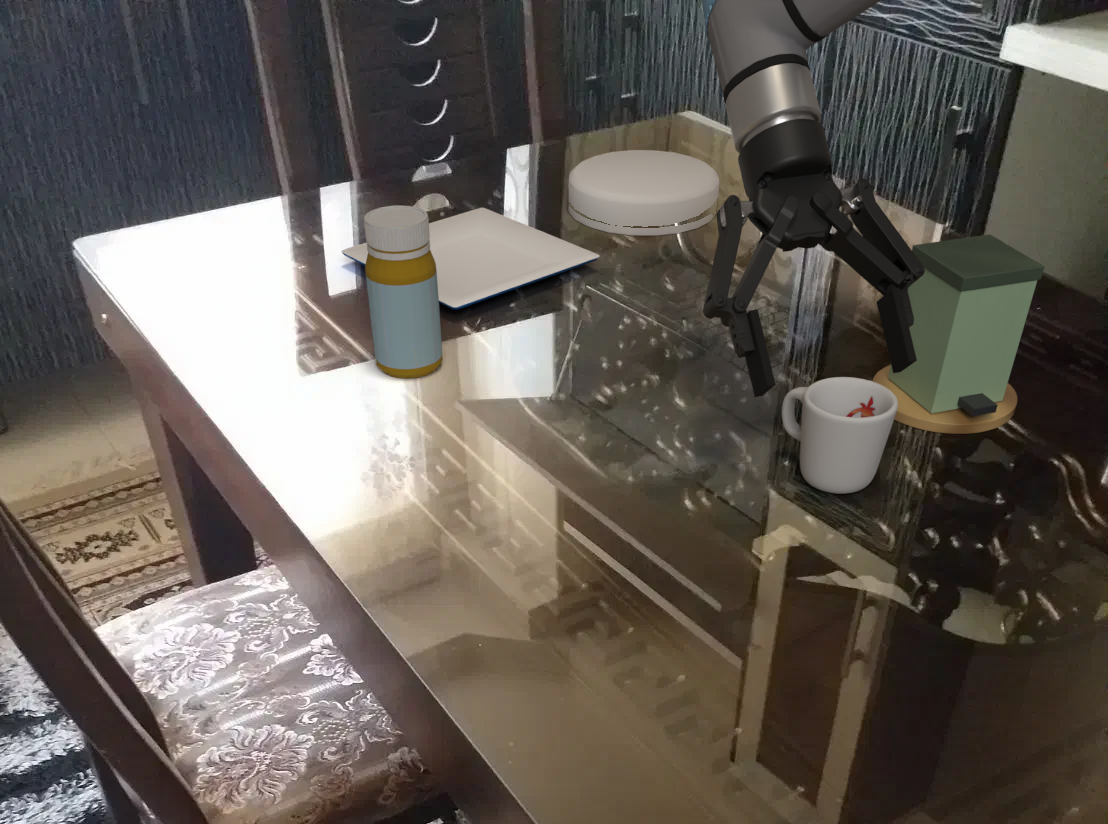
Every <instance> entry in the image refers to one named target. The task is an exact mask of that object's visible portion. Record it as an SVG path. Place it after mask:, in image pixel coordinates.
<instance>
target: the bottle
mask: <svg viewBox="0 0 1108 824" xmlns="http://www.w3.org/2000/svg"><path fill="white" fill-rule="evenodd" d="M363 223H364V224H363V225H364V234H365V241H366V243H367V251H368V255H367V260H366V264H365V265H364V269H365V273H364V274H365V281H366V290H367V291H366V292H367V300H368V307H369V316H370V327H371V334H372V343H373V351H374V358H375V365H376V366H377V368H378V369H380V370H381V371H382V372H383V373H384V374H385V375H387V376H389V377H393V378H396V379H409V380H410V379H417V378H422V377H426V376H429V375H431V374H433V373H434V372H435V371H436V370H437V369H438V368H439V366H440V365H441V364H442V362H443V340H442V327H441V313H440V303H439V298H438V283H437V270H436V263H435V260H434V258H433V255H432V253H431V251H430V240H429V238H430V233H429V223H430V220H429V216H428V213H427V211H426V210H424V209H422V208H420V207H417V206H412V205H387V206H383V207H382V206H381V207H377V208H374V209H372V210H370V211H368V212H367V213H366V214H365V215H364V218H363Z"/></svg>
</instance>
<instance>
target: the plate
mask: <svg viewBox="0 0 1108 824" xmlns="http://www.w3.org/2000/svg"><path fill="white" fill-rule="evenodd" d="M429 233H430V238H429V240H430V251H431V253H432V255H433V258H434V260H435V263H436V270H437V283H438V298H439V304H441V305H444V306H445V307H447V308H449V309H451V310H460V309H464V308H466V307H469V306H471V305H474V304H477V303H480V302H483V301H485V300H488V299H491V298H494V297H498V296H499V295H502V294H505V293H508V292H511V291H514V290H517V289H519V288H522V287H525V286H528V285H531V284H534V283H536V282H539V281H543V280H544V279H547V278H550V277H554V276H556V275H559V274H561V273H562V274H563V273H564V272H567V271H570V270H573V269H576V268H578V267H581V266H584V265H586V264H590V263H592V262H596V261H597V260H598V259H599V258H600V257H601V256H600V254H598V253H596V252H593V251H591V250H588V249H586V248H584V247H581V246H579V245H576V244H575V243H572V242H570V241H566V240H565V239H563V238H562V239H561V238H559V237H557V236H554V235H552V234H549V233H547V232H544V231H542V230H539V229H537V228H535V227H532V226H529V225H528V224H524V223H523V222H520V221H517V220H515V219H513V218H510V217H507V216H505V215H503V214H501V213H498V212H495V211H493V210H491V209H488V208H486V207H478V208H475V209H472V210H468V211H465V212H462V213H459V214H455V215H452V216H448V217H446V218H442V219H439V220H436V221H432V222H429ZM341 254H343V256H345V257H347V258H349V259H351V260H353V261H355V262H356V263H358V264H361V265H363V266H365V264H366V260H367V255H368V251H367V242H363V243H361V244H357V245H354V246H350V247H346V248H345V249H342V250H341Z"/></svg>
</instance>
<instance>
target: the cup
mask: <svg viewBox="0 0 1108 824" xmlns="http://www.w3.org/2000/svg"><path fill="white" fill-rule="evenodd" d="M797 400H799V401H800V402H801V404H802V405H801V407H802V408H801V410H802V411H801V426H800V425H799V423H798V422H797V419H796V413H795V411H796V409H795V408H796V403H797ZM897 409H898V401H897V398H896V396H895V395H894V394H893V393H892V392H891V391H890V390H889V389H887V388H886V387H884V386H882V385H880V384H878V383H875V382H872V380H868V379H864V378H859V377H852V376H835V377H827V378H824V379H820V380H817V381H815V382H813V383H811V384H810V385H809V386H799V387H795V388H792V389H791V390H789V391H788V392H787V393H786V395H785V396H784V398H783V401H782V406H781V421H782V425H783V427H784V430H785V431H786V433H787V434H788V435H789V436H790V437H791V438H793V439H795V440H796V441H798V442H800V445H799V447H800V448H799V468H800V474H801V475H802V478H803V479H804V481H805V482H806V483H807V484H808V485H810V486H811V487H813V488H815V489H817V490H819V491H822V492H825V493H830V494H837V495H842V494H843V495H844V494H853V493H857V492H860V491H862V490H864V489H865V488H866V487H867V486H869V484H871V482H872V481H873V479H874V477H875V475H876V473H877V471H878V469H879V465H880V462H881V460H882V456H883V455H884V450H885V448H886V444H887V442H888V438H889V436H890V432H891V430H892V427H893V424H894V421H895V420H894V418H895V415H896V412H897Z"/></svg>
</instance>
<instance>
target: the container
mask: <svg viewBox="0 0 1108 824" xmlns="http://www.w3.org/2000/svg"><path fill="white" fill-rule="evenodd" d="M719 194H720V178H719V174H718V173H717V171H716V170H715V169H714V168H712V167H711V166H710V165H709V164H708V163H707V162H706V161H703V160H700V159H698V158H696V157H694V156H690V155H686V154H682V153H677V152H673V151H664V150H656V149H629V150H619V151H618V150H617V151H610V152H606V153H601V154H596V155H594V156H591V157H588V158H587V159H584V160H582V161H581V162H579V163H578V164H577V165H576V166H575V167H574V168H573V169H571V170H570V172H569V174H568V203H569V202H570V203H571V205H572V206H573V207H574V209H575V210H577V211H579V212H580V213H582V214H584V215H586V216H587V217H589V218H591V219H595V220H597V221H602V222H604V223H607V224H604V223H601V222H597V221H593V220H590V219H587V218H585V217H583V216H581V215H580V214H578V213H576V212H575V211H574V210H573V209H572V208H571V207H570V206H569V204H567V205H568V207H567V208H568V211H567V212H568V213H569V214H570V215H571V217H572V218H573V220H574V221H577V222H578V223H580V224H582V225H584V226H586V227H588V228H591V229H595V230H598V231H601V232H605V233H610V234H617V235H624V236H639V237H640V236H641V237H645V236H650V237H656V236H657V237H658V236H666V235H675V234H681V233H685V232H689V231H692V230H696V229H699V228H701V227H703V226H705V225H707V224H709V223H710V222H712V220H713V219H714V218H715V217H716V215H714V216H713V215H712V214H710V215H708V216H706V217H704V218H702V219H700V220H698V221H695V222H691V223H687V224H683V225H678V226H669V227H660V228H631V227H633V226H642V227H648V226H663V225H671V224H674V223H679V222H682V221H685V220H688V219H690V218H693V217H696V216H699V215H700V214H701V213H703V212H704V211H705V210H707V209H708V208H710V207H711V206H712V205H713V204H714V202H715V201H716V199H717V198H718V199H719ZM608 224H610V225H608ZM615 225H617V226H615ZM623 226H631V227H623Z"/></svg>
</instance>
